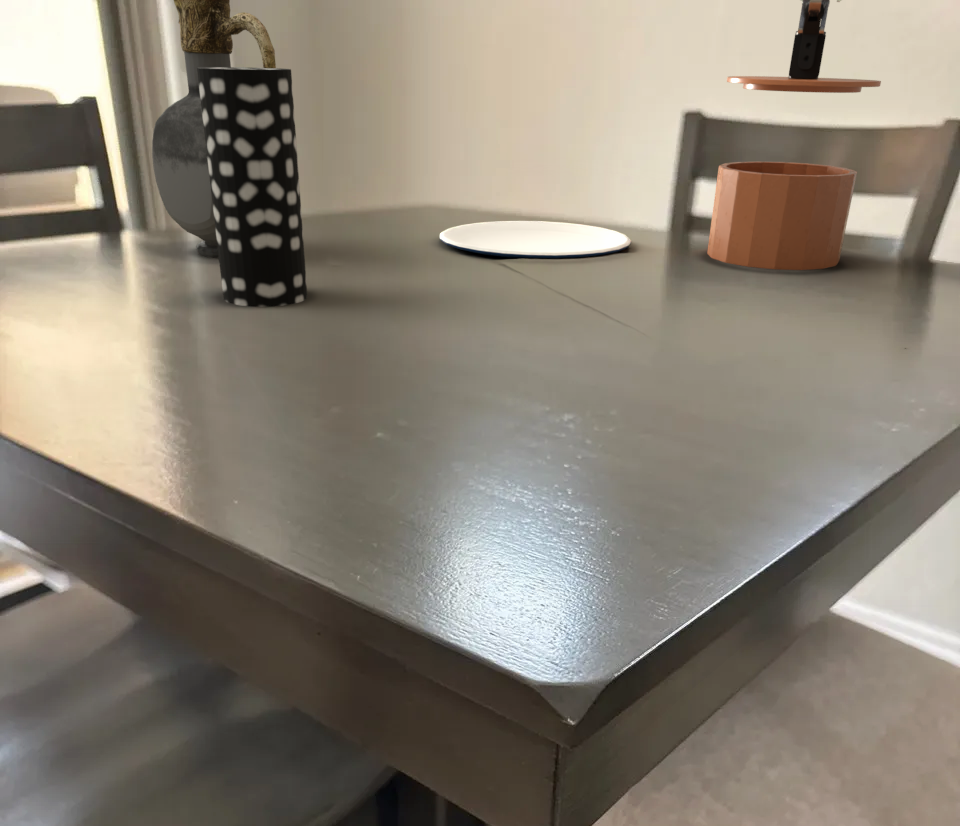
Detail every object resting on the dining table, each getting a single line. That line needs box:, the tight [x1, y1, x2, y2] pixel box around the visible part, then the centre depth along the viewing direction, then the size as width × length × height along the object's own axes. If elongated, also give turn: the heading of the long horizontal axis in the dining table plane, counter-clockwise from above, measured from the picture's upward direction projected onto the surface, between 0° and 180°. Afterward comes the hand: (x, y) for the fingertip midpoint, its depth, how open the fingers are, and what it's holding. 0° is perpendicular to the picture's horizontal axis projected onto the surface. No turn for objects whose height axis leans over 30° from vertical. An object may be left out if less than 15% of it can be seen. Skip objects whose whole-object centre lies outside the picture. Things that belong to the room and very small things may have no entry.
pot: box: [706, 161, 858, 271], centre depth 118 cm, size 16×16×10 cm
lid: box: [726, 30, 882, 94], centre depth 108 cm, size 17×17×6 cm
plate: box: [439, 220, 632, 260], centre depth 127 cm, size 25×25×1 cm
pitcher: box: [151, 0, 277, 259], centre depth 109 cm, size 11×19×30 cm, turn 49°
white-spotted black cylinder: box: [197, 66, 308, 308], centre depth 93 cm, size 8×8×20 cm
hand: (803, 75), depth 108 cm, fingers closed on lid, 3 cm apart
